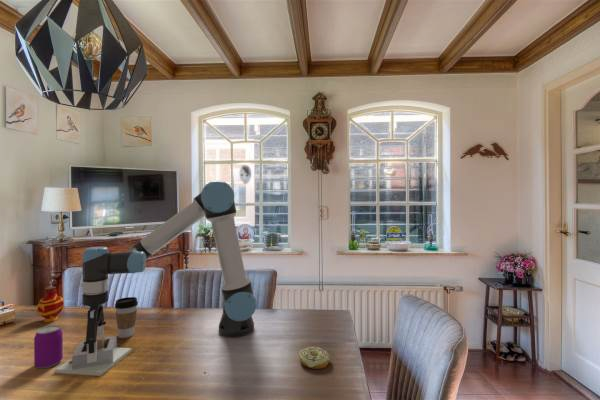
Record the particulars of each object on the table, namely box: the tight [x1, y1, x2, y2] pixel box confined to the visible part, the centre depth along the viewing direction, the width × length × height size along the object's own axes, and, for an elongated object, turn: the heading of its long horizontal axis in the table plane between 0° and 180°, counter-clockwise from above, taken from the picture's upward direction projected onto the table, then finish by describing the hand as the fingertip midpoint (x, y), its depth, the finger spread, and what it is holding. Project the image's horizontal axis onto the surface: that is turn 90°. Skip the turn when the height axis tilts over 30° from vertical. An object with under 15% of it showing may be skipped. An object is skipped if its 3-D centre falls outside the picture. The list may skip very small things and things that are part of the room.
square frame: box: [71, 335, 118, 370], centre depth 110 cm, size 12×12×4 cm
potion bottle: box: [36, 285, 65, 323], centre depth 147 cm, size 10×10×15 cm
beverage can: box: [33, 324, 64, 369], centre depth 109 cm, size 8×8×12 cm
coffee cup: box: [114, 296, 138, 339], centre depth 131 cm, size 8×8×15 cm
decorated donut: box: [298, 346, 331, 370], centre depth 111 cm, size 10×11×4 cm
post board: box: [54, 333, 133, 377], centre depth 110 cm, size 16×16×8 cm
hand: (95, 352), depth 110 cm, fingers open, 13 cm apart
